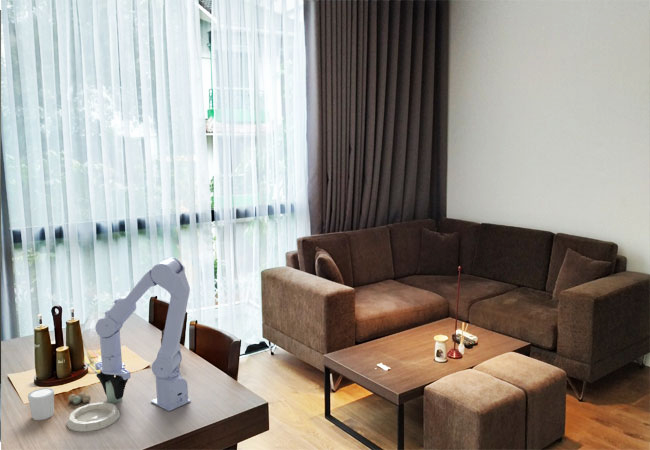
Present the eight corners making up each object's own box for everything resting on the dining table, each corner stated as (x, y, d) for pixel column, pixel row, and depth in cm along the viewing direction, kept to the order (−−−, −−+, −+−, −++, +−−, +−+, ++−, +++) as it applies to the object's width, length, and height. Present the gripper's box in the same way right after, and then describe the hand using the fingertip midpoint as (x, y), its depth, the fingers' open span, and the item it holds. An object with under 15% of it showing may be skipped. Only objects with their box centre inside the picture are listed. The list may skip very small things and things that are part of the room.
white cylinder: (49, 407, 168) (47, 385, 166) (60, 414, 163) (58, 391, 162) (25, 416, 162) (23, 393, 161) (36, 423, 158) (34, 400, 157)
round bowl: (129, 417, 161) (128, 410, 161) (82, 437, 150) (82, 430, 150) (103, 403, 170) (103, 396, 170) (58, 421, 159) (57, 414, 159)
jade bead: (125, 399, 172) (123, 381, 171) (111, 405, 168) (110, 386, 168) (117, 395, 175) (116, 377, 174) (104, 401, 171) (102, 382, 170)
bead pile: (92, 401, 171) (91, 394, 170) (76, 408, 167) (76, 400, 167) (82, 396, 174) (81, 389, 174) (66, 402, 171) (66, 394, 170)
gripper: (137, 354, 168) (140, 396, 171) (108, 345, 176) (111, 385, 179) (117, 362, 163) (120, 406, 165) (87, 352, 171) (91, 394, 173)
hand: (114, 396), depth 171 cm, fingers closed on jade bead, 4 cm apart
